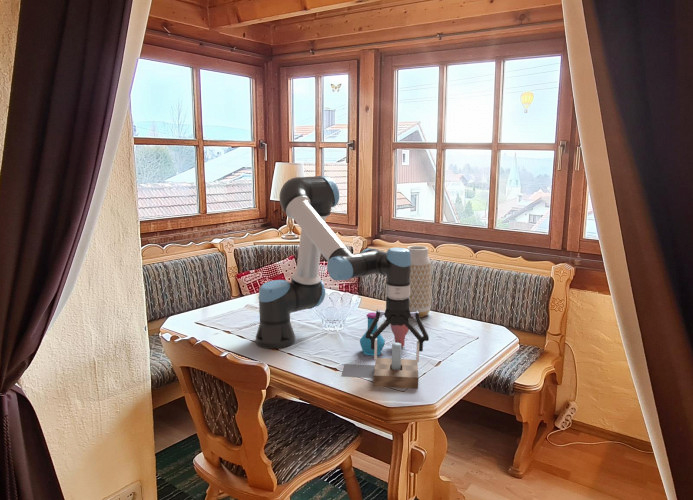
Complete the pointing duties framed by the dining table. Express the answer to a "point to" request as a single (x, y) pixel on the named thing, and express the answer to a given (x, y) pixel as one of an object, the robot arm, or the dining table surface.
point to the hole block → (396, 374)
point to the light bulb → (399, 333)
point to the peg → (396, 356)
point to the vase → (420, 280)
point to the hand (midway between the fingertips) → (396, 359)
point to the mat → (358, 370)
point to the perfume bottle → (366, 342)
